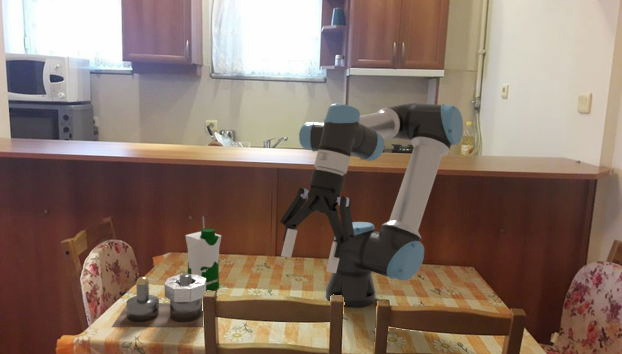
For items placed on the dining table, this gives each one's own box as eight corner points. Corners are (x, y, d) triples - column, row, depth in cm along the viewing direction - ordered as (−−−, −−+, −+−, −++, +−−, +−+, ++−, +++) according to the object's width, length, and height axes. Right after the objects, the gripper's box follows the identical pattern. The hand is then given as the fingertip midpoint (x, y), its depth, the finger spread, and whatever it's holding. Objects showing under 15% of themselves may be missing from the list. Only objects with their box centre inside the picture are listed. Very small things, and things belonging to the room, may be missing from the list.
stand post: (173, 308, 131) (173, 270, 130) (203, 308, 132) (203, 270, 130) (167, 322, 124) (166, 281, 122) (198, 322, 124) (199, 281, 123)
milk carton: (200, 300, 141) (201, 234, 138) (181, 291, 146) (181, 228, 143) (223, 292, 148) (224, 228, 144) (205, 283, 153) (205, 222, 150)
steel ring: (170, 286, 131) (170, 274, 131) (207, 286, 132) (207, 274, 132) (162, 301, 122) (162, 288, 121) (202, 302, 122) (202, 288, 122)
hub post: (131, 308, 130) (130, 271, 129) (161, 308, 131) (161, 271, 129) (122, 322, 123) (121, 283, 121) (155, 322, 123) (154, 283, 122)
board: (127, 308, 134) (127, 302, 134) (215, 308, 136) (215, 303, 136) (111, 332, 120) (111, 326, 120) (209, 332, 122) (209, 326, 122)
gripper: (279, 162, 115) (258, 249, 113) (365, 176, 98) (341, 278, 97) (300, 168, 120) (279, 252, 119) (384, 183, 104) (362, 280, 102)
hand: (307, 264), depth 108 cm, fingers open, 13 cm apart
